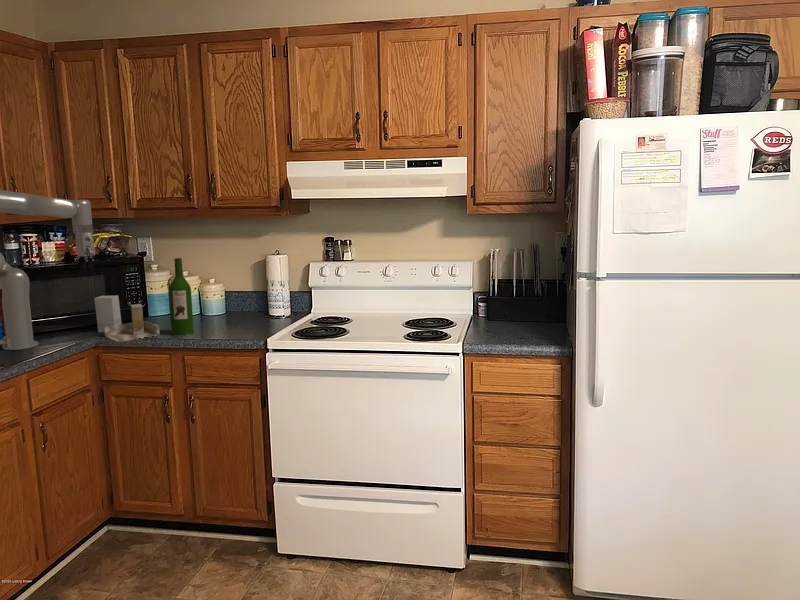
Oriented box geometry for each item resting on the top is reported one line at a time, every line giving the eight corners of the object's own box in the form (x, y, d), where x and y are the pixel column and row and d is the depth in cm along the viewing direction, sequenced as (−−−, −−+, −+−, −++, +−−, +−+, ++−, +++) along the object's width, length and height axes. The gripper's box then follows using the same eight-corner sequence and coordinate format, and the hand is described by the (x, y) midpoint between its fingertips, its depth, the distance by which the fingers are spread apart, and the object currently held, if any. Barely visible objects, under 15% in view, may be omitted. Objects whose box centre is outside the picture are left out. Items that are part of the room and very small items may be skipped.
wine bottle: (172, 336, 288) (166, 259, 283) (172, 332, 296) (166, 257, 291) (194, 334, 290) (189, 258, 285) (193, 330, 299) (188, 257, 294)
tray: (116, 342, 278) (115, 331, 277) (105, 337, 288) (104, 326, 288) (159, 335, 290) (159, 325, 289) (147, 330, 300) (146, 320, 299)
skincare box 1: (122, 329, 304) (119, 295, 302) (115, 332, 298) (112, 297, 295) (104, 329, 305) (101, 295, 302) (96, 332, 298) (93, 297, 296)
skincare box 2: (132, 332, 294) (130, 304, 292) (143, 331, 296) (141, 303, 294) (133, 335, 288) (131, 306, 286) (144, 334, 290) (142, 305, 288)
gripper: (99, 229, 280) (102, 270, 283) (85, 228, 293) (89, 267, 296) (79, 230, 276) (83, 272, 278) (67, 229, 288) (70, 269, 291)
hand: (86, 270), depth 287 cm, fingers open, 9 cm apart
